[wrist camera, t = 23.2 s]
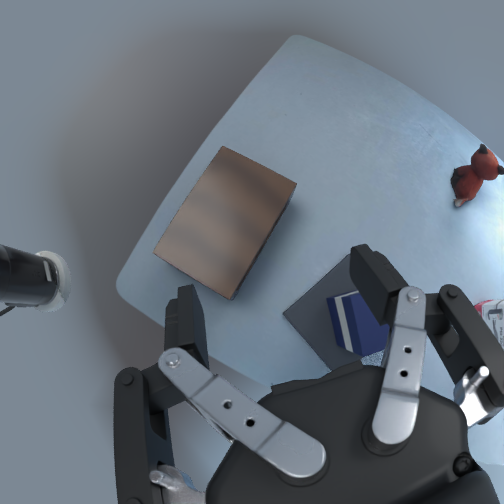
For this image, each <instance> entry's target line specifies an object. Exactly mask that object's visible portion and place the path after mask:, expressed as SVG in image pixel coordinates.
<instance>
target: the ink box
mask: <svg viewBox="0 0 504 504" xmlns="http://www.w3.org/2000/svg"><path fill="white" fill-rule="evenodd" d="M474 307H475V309H476V310H477V311H478V313H479V314H480V316H481V317H482V318H483V320H484V321H485V323H486V324H487V325H488V327H489V328H490V330H491V331H492V333H493V334H494V336H495V337H496V339H497V340H498V342H499V343H500V345H501V346H502V348H503V349H504V299H499V300H487V301H484V302H481V303H479V304H477V305H475V306H474Z"/></svg>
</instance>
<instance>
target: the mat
mask: <svg viewBox="0 0 504 504" xmlns="http://www.w3.org/2000/svg"><path fill="white" fill-rule="evenodd" d="M349 267H350V254H348V255H347V256H346V257H345V258H344V259H343V260H342V261H341V262H340V263H338V264H337V265H336V266H335V267H334V268H333V269H332V270H331V271H330V272H329V273H328V274H327V275H325V276H324V277H323V278H322V279H321V280H320V281H319V282H318V283H317V284H316V285H314V286H313V287H312V288H311V289H310V290H309V291H308V292H307V293H305V294H304V295H303V296H302V297H301V298H300V299H299V300H297V301H296V302H295V303H294V304H293V305H292V306H291V307H289V308H288V309H287V310H286V311H285V312H284V313H283V315H284V316H285V317H286V318H287V319H288V321H289V322H290V323H291V324H292V325H293V326H294V328H295V329H296V330H297V331H298V332H299V333H300V334H301V336H302V337H303V338H304V339H305V340H306V341H307V343H308V344H309V345H310V346H311V347H312V348H313V350H314V351H315V352H316V353H317V354H318V355H319V356H320V358H321V359H322V360H323V361H324V362H325V363H326V364H327V366H328V367H329V368H330V369H331V370H332V371H333V370H335V369H336V368H338V367H340V366H343V365H346V364H349V363H352V362H355V361H358V360H361V359H362V358H363V357H362V356H360V355H357V354H355V353H353V352H351V351H348V350H346V349H344V348H342V347H340V346H338V345H337V343H336V339H335V334H334V330H333V325H332V321H331V316H330V312H329V308H328V304H327V300H326V298H329V297H332V296H336V295H339V294H343V293H346V292H350V291H353V290H357V288H356V287H355V285H354V284H353V282H352V280H351V278H350V273H349Z"/></svg>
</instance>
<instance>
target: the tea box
mask: <svg viewBox="0 0 504 504" xmlns="http://www.w3.org/2000/svg"><path fill="white" fill-rule="evenodd" d="M326 300H327V304H328V308H329V312H330V316H331V321H332V325H333V330H334V334H335V339H336V343H337V345H338V346H340V347H342V348H344V349H346V350H348V351H351V352H353V353H355V354H357V355H360V356H362V357H365V356H368V355H371V354H373V353H376V352H379V351H381V350H384V349H385V345H386V341H387V336H388V331H389V328H390V327H389V325H388V324H385V325H383V326H380V325H379V324H378V322H377V320H376V319H375V317H374V315H373V314H372V312H371V311H370V309H369V307H368V306H367V304H366V303H365V301H364V299H363V298H362V296H361V295H360V293H359V291H358V290H353V291H350V292H346V293H343V294H339V295H336V296H332V297H329V298H326Z"/></svg>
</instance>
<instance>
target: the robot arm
mask: <svg viewBox="0 0 504 504" xmlns="http://www.w3.org/2000/svg"><path fill="white" fill-rule="evenodd" d="M349 273H350V278H351V280H352V282H353V284H354V285H355V287H356V288H357V290H358V291H359V293H360V295H361V296H362V298H363V299H364V301H365V303H366V304H367V306H368V307H369V309H370V311H371V312H372V314H373V315H374V317H375V319H376V320H377V322H378V324H379V325H380V326H383V325H385V324H388V325H389V327H390V328H389V331H388V336H387V341H386V345H385V350H384V354H383V358H382V362H381V365H380V367H379V366H374V365H363V364H362V362H361V360H358V361H355V362H352V363H349V364H346V365H343V366H340V367H338V368H336V369H335V370H333V371H332V372H330V373H328V374H326V375H325V376H323V377H321V378H319V379H309V380H293V381H289V382H285V383H281V384H278V385H273V386H271V389H272V392H271V393H270V394H267V395H266V396H265V397H263V398H262V399H261V400H259V401H258V402H257V403H256V402H255V401H253V400H252V399H251V398H249V397H248V396H247V395H245V394H244V393H243V392H241V391H240V390H239V389H237V388H236V387H235V386H233V385H232V384H231V383H229V382H228V381H226V379H224V378H223V377H222V376H220V375H218V374H216V375H214V374H213V373H211V372H210V370H209V361H208V351H207V341H206V331H205V320H204V313H203V309H202V306H201V303H200V300H199V298H198V295H197V292H196V290H195V287H194V285H193V284H191V285H187V286H182V287H178V298H177V299H172V300H170V301H169V303H168V305H167V307H166V316H165V317H166V318H165V345H164V352H163V353H162V354H161V356H160V357H159V360H158V362H157V363H156V364H155V365H153V366H151V367H149V368H147V369H144V370H142V371H140V370H138V369H137V368H134V367H129V368H125V369H123V370H122V371H120V373H119V374H118V375H117V376H116V379H115V383H114V459H115V476H116V488H117V498H118V504H500V502H499V500H498V497H497V494H496V492H495V489H494V487H493V484H492V482H491V480H490V477H489V476H488V474H487V473H486V472H485V471H484V470H483V469H482V468H481V467H480V466H479V465H478V464H477V463H476V462H475V461H474V459H473V458H472V456H471V454H470V452H469V447H468V437H467V433H468V429H469V428H471V427H473V426H474V425H476V424H479V425H482V424H485V423H487V422H488V421H489V420H490V419H492V418H493V417H494V416H495V415H496V414H497V413H499V412H500V411H501V410H502V409H503V408H504V349H503V348H502V346H501V345H500V343H499V342H498V340H497V339H496V337H495V336H494V334H493V333H492V331H491V330H490V328H489V327H488V325H487V324H486V323H485V321H484V320H483V318H482V317H481V316H480V314H479V313H478V311H477V310H476V309H475V307H474V306H473V305H472V303H471V302H470V301H469V299H468V298H467V297H466V295H465V294H464V293H463V292H462V290H461V289H460V288H458V287H457V286H455V285H451V284H447V285H444V286H442V287H441V289H440V291H439V293H432V294H424V292H423V291H422V290H421V289H419V288H417V287H413V286H409V285H408V284H407V282H406V281H405V280H404V279H403V277H402V276H401V275H400V274H399V272H398V271H397V270H396V269H394V266H393V265H392V264H390V262H389V260H388V259H387V258H386V257H385V256H384V255H382V254H381V253H379V252H377V251H374V252H373V251H372V250H371V249H370V248H369V246H368V245H367V244H362V245H358V246H354V247H352V248H351V253H350V267H349ZM59 282H60V279H59V272H58V269H57V266H56V264H55V263H54V262H53V261H52V260H51V259H50V258H47V257H43V256H38V255H35V254H31V253H28V252H24V251H21V250H17V249H14V248H11V247H7V246H4V245H0V302H4V303H5V304H6V305H7V306H9V307H8V308H6V309H4V310H3V311H1V312H0V316H2V315H3V314H5V313H7V312H9V311H10V310H12V309H13V308H14V307H15V306H17V307H38V306H39V305H47V304H49V303H50V302H52V301H53V300H54V298H55V297H56V295H57V292H58V289H59ZM453 327H454V328H453ZM455 330H456V331H455ZM456 332H457V333H458V334H457V333H456ZM427 335H428V337H429V339H430V340H431V342H432V344H433V346H434V347H435V349H436V351H437V353H438V354H439V356H440V358H441V360H442V362H443V363H444V365H445V367H446V369H447V371H448V373H449V375H450V376H451V378H452V380H453V382H454V384H455V388H454V402H453V401H452V400H450V399H447V398H445V397H443V396H441V395H439V394H437V393H435V392H432V391H430V390H428V389H426V388H424V387H422V386H420V383H421V377H422V370H423V363H424V355H425V346H426V336H427ZM458 335H459V336H458ZM183 401H185V402H186V403H187V404H188V405H190V407H191V408H193V409H194V410H195V411H196V412H197V413H198V414H199V415H200V416H201V417H202V418H203V419H204V420H206V421H207V422H208V423H209V424H210V425H211V426H212V427H213V428H214V429H215V430H216V431H217V432H218V433H219V434H220V435H221V436H223V437H224V438H225V439H226V440H227V441H229V442H230V443H231V444H232V445H231V446H230V448H229V450H228V452H227V453H226V455H225V457H224V459H223V460H222V462H221V463H220V465H219V467H218V468H217V470H216V472H215V473H214V475H213V477H212V478H211V480H210V482H209V483H208V486H207V488H206V492H199V491H198V490H197V489H196V488H195V487H194V485H193V483H192V480H191V478H190V477H189V476H188V475H187V474H186V473H184V472H182V471H181V470H179V469H177V468H175V464H174V458H173V451H172V443H171V436H170V428H169V418H168V408H170V407H172V406H174V405H176V404H178V403H181V402H183Z"/></svg>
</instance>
